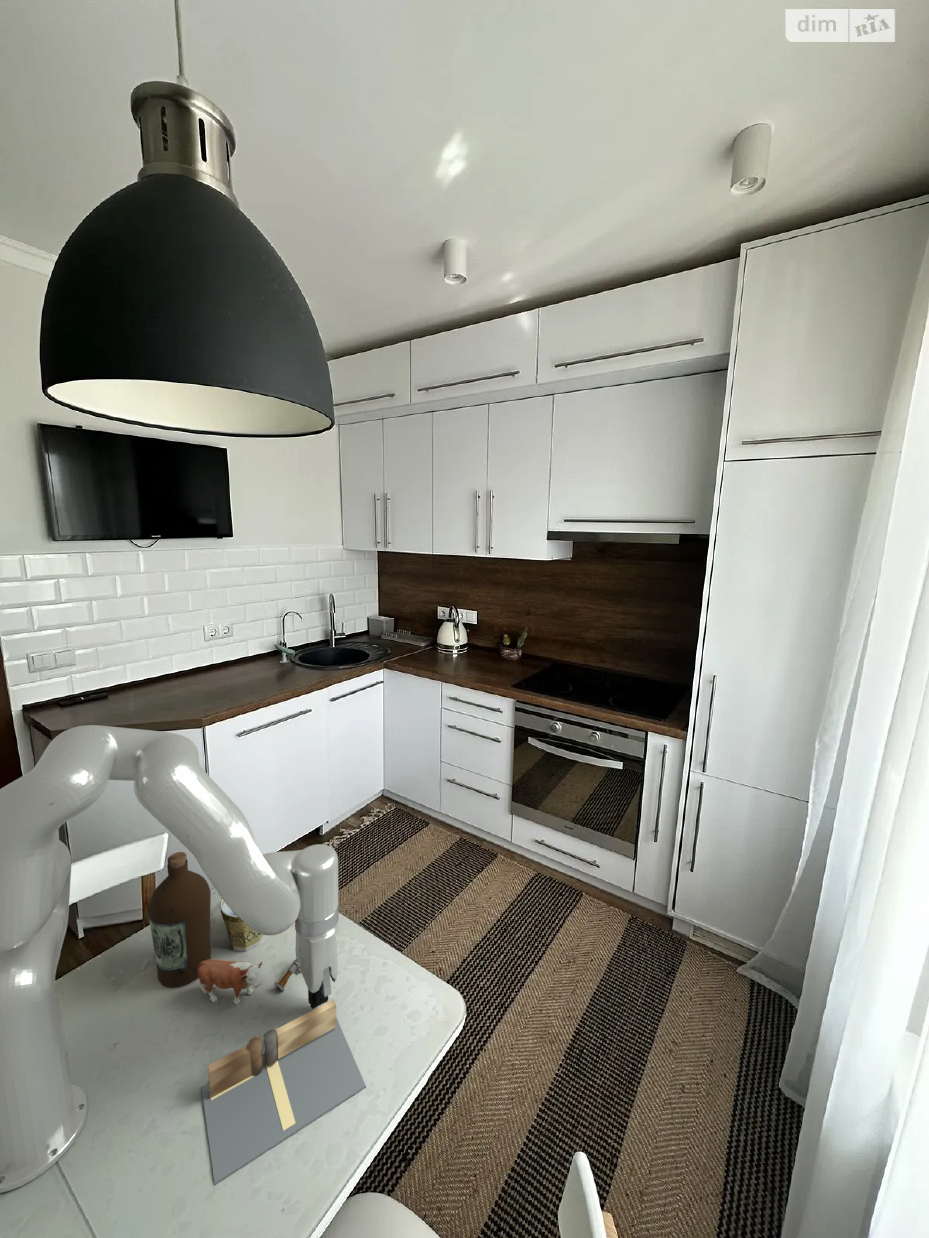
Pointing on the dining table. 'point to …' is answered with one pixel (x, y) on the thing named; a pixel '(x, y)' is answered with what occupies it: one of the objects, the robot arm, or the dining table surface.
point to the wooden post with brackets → (288, 975)
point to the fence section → (236, 1067)
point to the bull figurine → (228, 977)
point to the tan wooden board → (299, 1032)
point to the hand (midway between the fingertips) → (318, 1001)
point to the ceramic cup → (239, 930)
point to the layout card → (279, 1101)
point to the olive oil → (180, 923)
